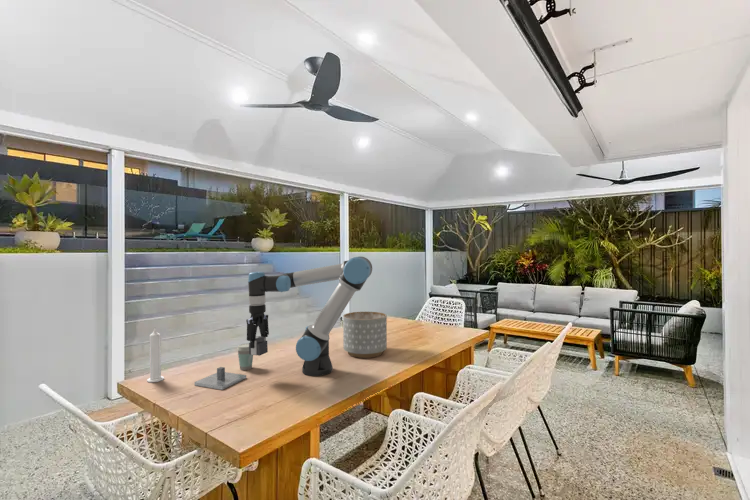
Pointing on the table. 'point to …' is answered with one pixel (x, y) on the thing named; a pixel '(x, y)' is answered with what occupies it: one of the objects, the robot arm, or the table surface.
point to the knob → (260, 345)
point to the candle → (155, 358)
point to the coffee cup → (244, 357)
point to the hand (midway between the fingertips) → (258, 352)
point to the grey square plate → (220, 379)
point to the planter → (365, 334)
